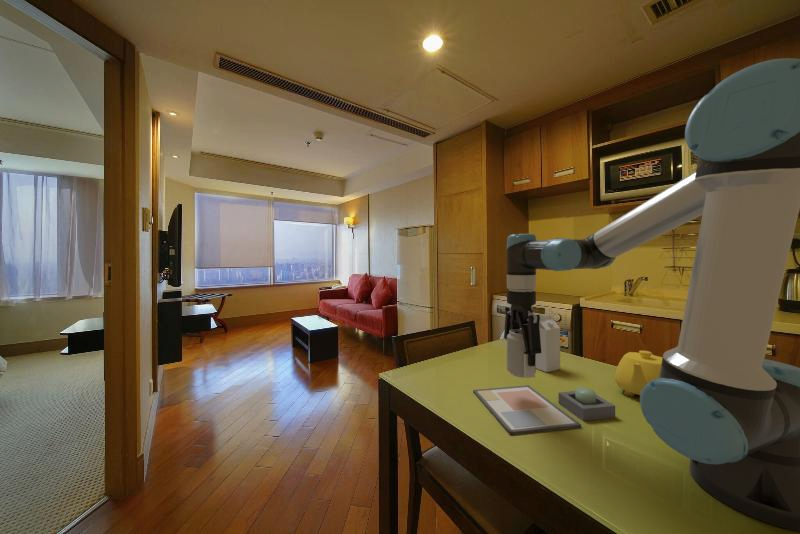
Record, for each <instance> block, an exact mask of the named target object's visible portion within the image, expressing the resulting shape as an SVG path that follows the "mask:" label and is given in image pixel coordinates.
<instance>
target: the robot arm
mask: <svg viewBox="0 0 800 534" xmlns="http://www.w3.org/2000/svg"><path fill="white" fill-rule="evenodd" d="M684 139H685V143H686V145H687V147H688V149H689V150H690V152H691V153H693V154H694V155H695V156H696V157H697V163H696V166H695V167H696V168H695V171H693V172H692V173H690V174H689V175H687V176H685V177H684V178H682V179H680V180H679V181H677V182H675V183H674V184H673V185H671V186H669V187H667V188H666V189H664V190H662V191H661V192H659V193H658V194H656V195H654V196H652V197H651V198H649V199H648V200H646V201H645V202H643V203H641V204H640V205H638V206H636V207H634V208H633V209H631V210H630V211H628V212H627V213H625V214H623V215H622V216H620V217H619V218H617V219H615V220H613V221H612V222H610V223H608V224H607V225H605V226H604V227H602V228H600V229H599V230H597V231H596V232H594V233H592V234H590V235H589V236H588V237H586V238H582V239H574V238H573V239H571V238H559V237H557V238H553V239H541V240H539V239H538V240H537V236H536V234H535V233H518V234H517V233H515V234H510V235H508V236H507V238H506V240H507V241H506V249H505V251H506V289H507V291H506V303H507V304H508V305H510V306H506V307H505V308H504V309H505V311H504V312H505V318H504V319H505V320H504V330H503V331H504V332H503V338H504V340H507V335H508V334H509V333H510V332H509V331H510V330H512V329H522V334H523V339H524V344H525V349H526V352H524V377H525V378H526V379H528V378H536V373H535V355H536V354H539V353H541V341H540V329H539V321H540V317H541V316H540V314H534V313H533V309H532V307H533V306H535V305H536V304H537V292H536V289H537V286H536V285H537V277H536V275H537V270H545V271H554V272H563V271H572V270H583V269H584V270H585V269H586V270H588V269H590V270H597V269H602V268H603V269H604V268H606V267H609V266H610V265H612V264H613V263H614V261H615V260H616V259H617V258H618V257H619V256H621V255H623V254H625V253H628V252H629V251H632V250H634V249H635V248H637V247H639V246H642V245H643V244H646V243H648V242H650V241H652V240H654V239H656V238H658V237H660V236H662V235H664V234H666V233H668V232H670V231H673V230H674V229H677V228H678V227H680V226H682V225H685V224H687V223H688V222H691V221H693V220H695V219H697V218H699V217H701V219H700V220H701V222H700V226H699V230H698V231H699V232H698V236H697V237H698V238H697V241H696V242H697V243H696V247H695V248H696V249H695V253H694V258H693V263H692V269H691V274H690V279H689V285H688V288H687V289H688V291H687V296H686V301H685V305H684V313H683V317H682V322H681V328H680V333H679V339H678V343H677V345H676V347H674V348H671V349H669V350H666V351H665V352H664V353H663V354H662V357H663V358H662V364H661V369H660V375H659V378H657V379H654V380H652V381H650V382H649V383H648V384H647V385H646V386H645V387H644V388H643V389H642V391H641V394H640V395H639V405H640V410H641V412H642V415H643V417H644V419H645V421H646V422H647V424H649V425H650V427H651V428H652V430H653V432H654V434H655V435H656V436H657V437H658V438H659V439H660V440H661V441H663V442H664V443H665V444H666V445H667V446H668V447H669V448H671V449H673V451H675V452H677V453H679V454H680V455H682V456H684V457H685V458H688V459H689V472H690V475H691V477H692V479H693V480H694V481H695V482H696V483H697V485H698V486H700V487H701V488H702V489H703V491H706V492H707V494H709V495H711V496H713V498H715V499H717V500H718V501H720V502H722V503H723V504H725V505H727V506H729V507H730V508H732V509H734V510H736V511H739V512H740V513H742V514H745V515H746V516H748V517H751V518H753V519H756V520H758V521H762V522H764V523H767V524H770V525H772V526H775V527H779V528H783V529H786V530H791V531H796V532H800V367H797V366H795V365H791V364H788V363H783V362H780V361H776V360H771V359H766V354H767V353H766V352H767V348H768V345H769V340H770V336H771V332H772V327H773V323H774V319H775V315H776V312H777V311H776V309H777V305H778V304H779V303H778V302H779V298H780V293H781V290H782V289H781V288H782V285H783V281H784V277H785V273H786V269H787V268H786V267H787V263H788V260H789V256H790V251H791V248H792V247H791V246H792V244H793V243H792V242H793V238H794V234H795V230H796V225H797V221H798V217H799V213H800V59H799V58H791V57H790V58H789V57H787V58H786V57H785V58H774V59H769V60H766V61H761V62H758V63H755V64H752V65H749V66H747V67H744V68H743V69H740V70H738V71H736V72H734V73H732V74H731V75H729V76H727V77H726V78H724V79H723V80H721V81H720V82H719V83H717V84H716V85H715V86H714V87H713V88H712V89H711V90H710V91H709V92H708V93H707V94H705V95H704V96H703V97H702V98H700V100H699V101H698V103H697V104H696V105H695V106H694V108H693V109H692V111H691V112H690V115H689V116H688V119H687V122H686V125H685V129H684ZM515 333H518V332H515ZM525 378H524V379H525Z"/></svg>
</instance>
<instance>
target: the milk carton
mask: <svg viewBox="0 0 800 534" xmlns="http://www.w3.org/2000/svg"><path fill="white" fill-rule="evenodd" d="M552 317H553V315H552V314H549V315H543V316H542V315H541V316H540V321H539V329H540V341H541V353H539V354H536V369H537V370H540V371H543V372H545V373H550V372H554V371H557V370H560V369H561V327H560V326H559V325H558V323H556V321H555V319H553V318H552Z"/></svg>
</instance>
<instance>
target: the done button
mask: <svg viewBox="0 0 800 534" xmlns="http://www.w3.org/2000/svg"><path fill="white" fill-rule="evenodd" d="M574 391H575V400H576V401H578V402H579V403H581V404H583V405H593V404H596V395H597V393H596V391H595V390H593V389H591V388H588V387H576V388H575V390H574Z"/></svg>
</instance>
